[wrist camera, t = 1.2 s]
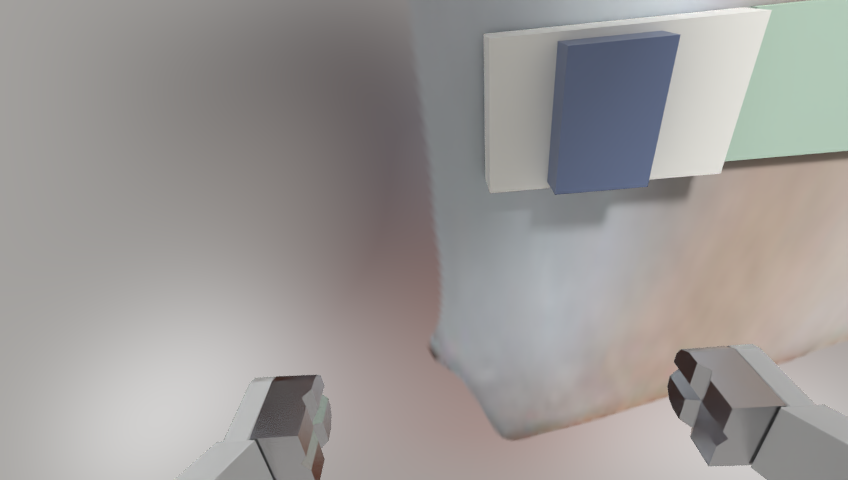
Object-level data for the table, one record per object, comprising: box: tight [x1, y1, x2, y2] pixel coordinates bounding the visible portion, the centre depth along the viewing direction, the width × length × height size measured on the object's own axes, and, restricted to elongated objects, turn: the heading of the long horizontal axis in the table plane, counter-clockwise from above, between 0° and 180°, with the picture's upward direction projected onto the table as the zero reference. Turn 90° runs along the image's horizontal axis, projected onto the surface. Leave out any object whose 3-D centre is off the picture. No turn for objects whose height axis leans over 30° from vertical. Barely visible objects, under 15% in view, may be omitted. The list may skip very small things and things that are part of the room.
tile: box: [547, 31, 680, 195], centre depth 26 cm, size 9×6×2 cm, turn 5°
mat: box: [725, 0, 848, 161], centre depth 28 cm, size 10×14×1 cm
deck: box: [483, 7, 772, 193], centre depth 28 cm, size 10×16×2 cm, turn 95°
